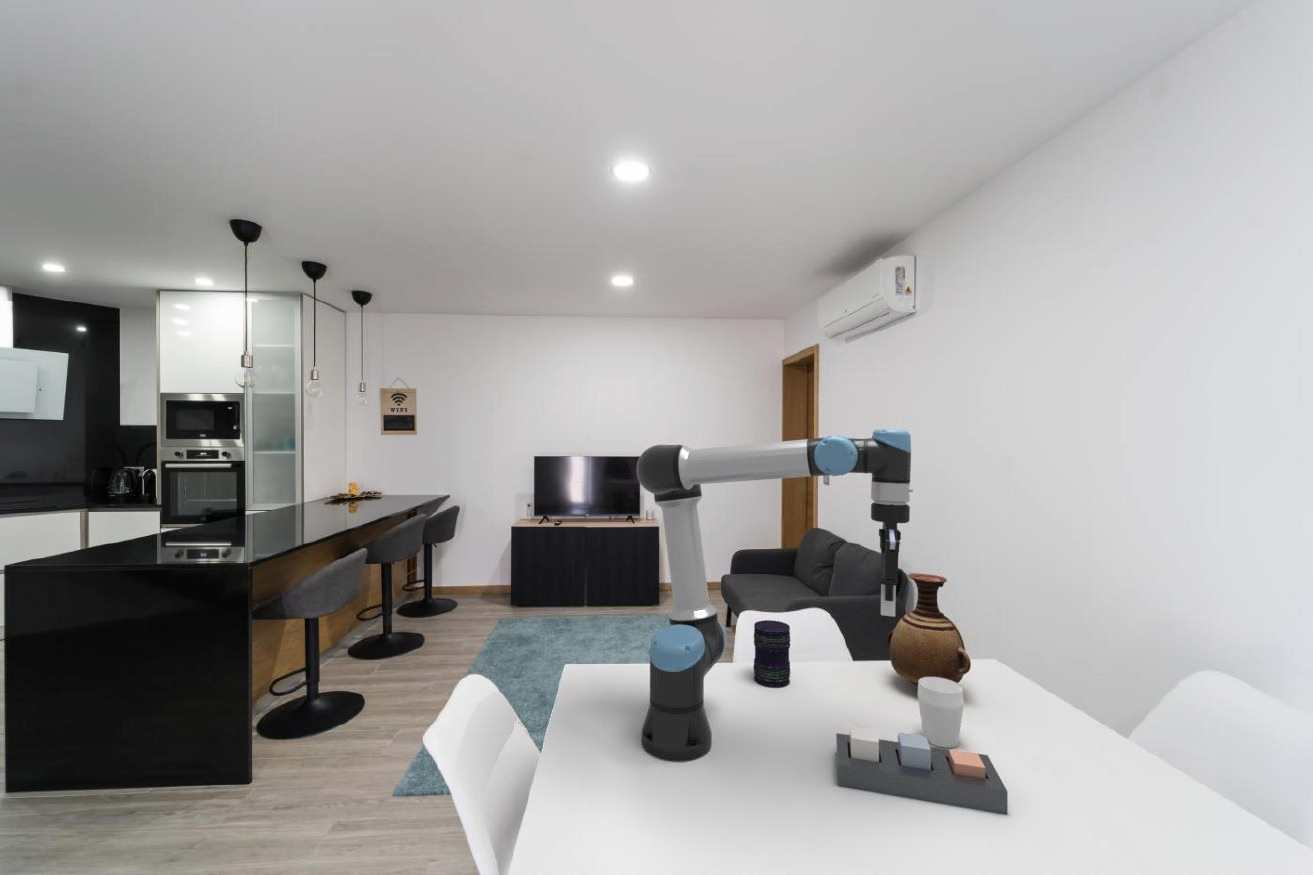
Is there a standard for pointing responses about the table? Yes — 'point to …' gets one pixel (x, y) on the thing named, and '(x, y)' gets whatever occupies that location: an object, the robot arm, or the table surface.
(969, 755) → the terracotta key
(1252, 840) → the table surface
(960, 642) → the vase
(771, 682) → the storage jar
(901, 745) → the slate key
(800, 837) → the table surface
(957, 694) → the cup
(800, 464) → the robot arm
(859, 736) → the ivory key
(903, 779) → the panel
